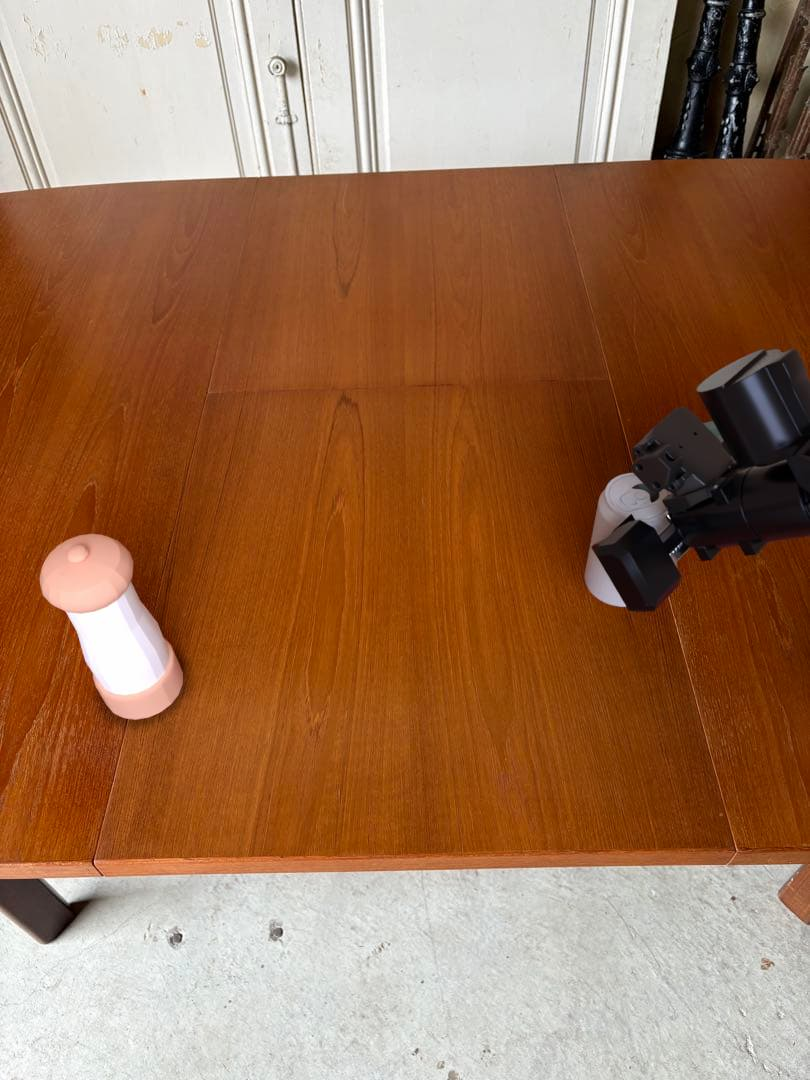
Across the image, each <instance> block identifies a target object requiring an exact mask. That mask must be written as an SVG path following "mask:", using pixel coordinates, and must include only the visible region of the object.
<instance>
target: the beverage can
mask: <svg viewBox="0 0 810 1080" xmlns="http://www.w3.org/2000/svg"><path fill="white" fill-rule="evenodd" d="M668 494H672V493H671V492H669V491H667V490H665V489H663V490H662V491H660V492H659V493H655V492H652V491H650V490H649V489H648V488H647V487H646V486H645V485H644V484H643V483H642V482H641V481H640V480H639V479H638V478H637V476H636V475H635V474H634V473H633V472H628V473H623V474H619V475H617V476H615V477H613V478H612V479H611V480H610V481H609V482H608V483H607V484H606V487H605V489H603V491H602V492H601V493H600V495H599V498H598V503H597V507H596V513H595V519H594V524H593V529H592V533H591V539H590V544H589V549H588V555H587V559H586V560H587V561H586V564H585V570H584V582H585V585H586V588H587V589H588V591H589V592H590V593H591V594H592V595H593V597H595V598H596V599H597V600H598V601H601V602H602V603H605V604H607V605H609V606H613V607H618V608H619V607H620V608H621V607H622V608H627V607H626V605H625V604H624V602H623V600H622V598H621V597H620V595H619V593H618V592H617V590H616V588H615V587H614V585H613V583H612V582H611V580H610V578H609V576H608V575H607V573H606V571H605V570H604V568H603V566H602V565H601V563H600V561H599V560H598V558H597V556H596V555H595V553H594V551H593V550H592V548H591V547H592V545H594V544H595V543H597V542H600V541H602V540H604V539H606V538H607V537H608V536H609V535H610V534H611V533H612V532H613V530H614V529H615V528H616V527H617V526H618V525H620V524H621V523H622V522H623V521H624V520H625V519H626V518H627V517H628V516H629V515H630V514H632V515H633V517H634V519H635V520H641V521H643V522H645V523H647V524H648V525H650V526H652V527H653V528H655V530H656V532H657V533H658V535H660V534H661V533H662V532H663V531H664V530H665V529H666V528H667V527H668V526H669V525H670V523H669V522H668V521H667V519H666V517H665V513H666V512H667V509H666V507H665V505H664V504H663V502H662V500H663V499H664V498H665V497H666V496H667V495H668Z"/></svg>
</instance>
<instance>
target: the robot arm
mask: <svg viewBox="0 0 810 1080" xmlns="http://www.w3.org/2000/svg"><path fill="white" fill-rule="evenodd" d="M695 391H696V393H697V394H698V397H699V398H700V400H701V402H702V403H703V405H704V407H705V409H706V411H707V413H708V415H709V417H710V418H711V420H712V421H713V422H714V424H715V426H716V428H717V429H718V431H719V433H720V434H719V435H717V436H715V435H714V434H713V433H712V432H711V431H710V430H709V429H708V428H707V427H706V426H705V425H704V424H703V423H704V422H703V421H702V420H700V418H699V417H698V416H696V414H695V413H694V412H693V411H692V410H690V409H689V408H687V407H684V406H679V407H676V408H675V409H674V410H672V411H671V412H670V413H669V414H667V416H665V417H664V418H663V419H662V420H661V421H659V422H658V423H657V424H656V425H654V427H653V428H651V430H650V431H649V432H648V433H647V434H646V435H645V436H643V437H642V438H641V439H640V440H639V441H638V442H637V443H636V444H635V445H634V446H633V447H632V449H631V456H632V459H633V460H634V462H632V464H631V473H634V474H635V475H636V476H637V478H638V479H639V480H640V481H641V482H642V483H643V484H644V485H645V486H646V487H647V488H648V489H649V490H650V491H652V492H655V493H659V492H660V491H662V490H663V489H665V490H667V491H669V492H671V493H672V494H668V495H667V496H666V497H665V498H664V499H663V500H662V502H663V504H664V505H665V507H666V509H667V512H666V513H665V517H666V519H667V521H668V522H669V523H670V525H669V526H668V527H667V528H666V529H665V530H664V531H663V532H662V533H661V534H660V535H658V533H657V532H656V530H655V528H653V527H652V526H650V525H648V524H647V523H645V522H643V521H641V520H635V519H634V517H633V515H632V514H630V515H629V516H628V517H627V518H626V519H625V520H624V521H623V522H622V523H621V524H620V525H618V526H617V527H616V528H615V529H614V530H613V532H612V533H611V534H610V535H609V536H608V537H607V538H606V539H604V540H602V541H600V542H597V543H595V544H594V545H592V547H591V548H592V550H593V551H594V553H595V555H596V556H597V558H598V560H599V561H600V563H601V565H602V566H603V568H604V570H605V571H606V573H607V575H608V576H609V578H610V580H611V582H612V583H613V585H614V587H615V588H616V590H617V592H618V593H619V595H620V597H621V598H622V600H623V602H624V604H625V605H626V607H625V608H626V609H627V610H628V612H633V613H649V612H650V613H651V612H652V613H653V612H655V611H656V610H657V609H658V608H660V606H661V605H662V604H663V603H664V601H666V600H667V598H669V596H671V594H673V592H674V591H675V590H676V589H677V588H678V587H679V585H680V582H681V579H682V576H683V575H682V574H681V572H680V570H679V567H678V562H679V560H680V559H681V558H682V557H684V555H686V554H687V552H688V551H689V550H690V549H691V548H693V549H694V551H695V553H696V555H697V556H698V558H699V561H701V562H707V561H712V560H713V559H714V558H715V557H716V556H717V555H718V554H719V553H720V552H721V551H722V550H723V549H726V548H733V547H735V548H736V547H740V548H739V549H740V550H741V551H742V553H743V555H744V556H745V557H748V556H757V555H758V554H759V553H760V552H761V551H762V549H763V548H764V547H765V546H766V545H767V544H768V543H770V542H771V543H772V542H776V541H785V540H792V539H799V538H806V537H810V379H809V376H808V372H807V368H806V365H805V362H804V361H803V359H802V356H801V354H800V352H799V350H797V349H795V348H791V349H788V350H784V351H782V350H781V349H779V348H774V349H768V350H766V348H763V349H759V350H757V351H754V352H752V353H749V354H747V355H745V356H743V357H741V358H738V359H736V360H735V361H733V362H731V363H729V364H727V365H725V366H724V367H722V368H720V369H719V370H717V371H716V372H714V373H711V375H709V376H708V377H707V378H706V379H703V381H702V382H700V384H699V385H698V386H697V387H696V390H695Z"/></svg>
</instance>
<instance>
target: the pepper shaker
mask: <svg viewBox="0 0 810 1080" xmlns="http://www.w3.org/2000/svg"><path fill="white" fill-rule="evenodd" d="M133 574H134V560H133V557H132V554H131V552H130V551H129V550H128V549H127V548H126V547H125V546H124V544H122V543H121V542H120V541H119V540H118V539H115V538H112V537H110V536H107V535H104V534H98V533H97V534H96V533H87V534H80V535H77V536H74V537H71V538H68V539H66V540H65V541H63V542H61V543H59V544H58V545H57V546H55V547H54V549H52V551H51V552H49V553H48V554H47V557H46V558H45V560H44V562H43V564H42V566H41V568H40V574H39V585H40V590H41V593H42V596H43V598H45V599H46V600H47V602H48V603H49V604H50V605H52V606H53V607H55V608H58V610H59V609H60V610H62V611H64V612H65V613H66V615H67V617H68V618H69V620H70V622H71V624H72V626H73V628H74V629H75V631H76V633H77V637H78V640H79V644H80V647H81V651H82V655H83V657H84V661H85V663H86V665H87V667H88V668H89V669H90V671H91V672H92V679H93V682H94V686H95V688H96V690H97V691H98V693H99V695H100V696H101V698H102V700H103V701H104V703H105V705H106V706H107V707H108V709H110V711H111V712H112V713H113V714H115V715H116V716H118V717H121V718H123V719H126V720H127V719H128V720H136V721H137V720H142V719H148V718H151V717H153V716H155V715H158V714H159V713H160V714H161V713H162V712H163V711H165V710H166V709H167V708H168V707H169V706H171V705H172V704H173V703H174V701H176V699H177V698H178V696H179V695H180V693H181V690H182V687H183V685H184V672H183V670H182V667H181V665H180V661H179V660H178V657H177V655H176V653H175V651H174V648H173V645H172V644H171V643H170V642H169V641H168V640H167V639H166V638H165V637H164V636H163V632H162V631H161V628H160V626H159V623H158V621H157V620H156V619H155V617H154V616H153V615H152V614H151V612H150V611H149V610H148V609H147V607H146V606H145V605H144V604H143V602H142V601H141V600H140V597H139V595H138V593H137V591H136V588H135V587H134V585H133V582H132V579H133Z"/></svg>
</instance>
